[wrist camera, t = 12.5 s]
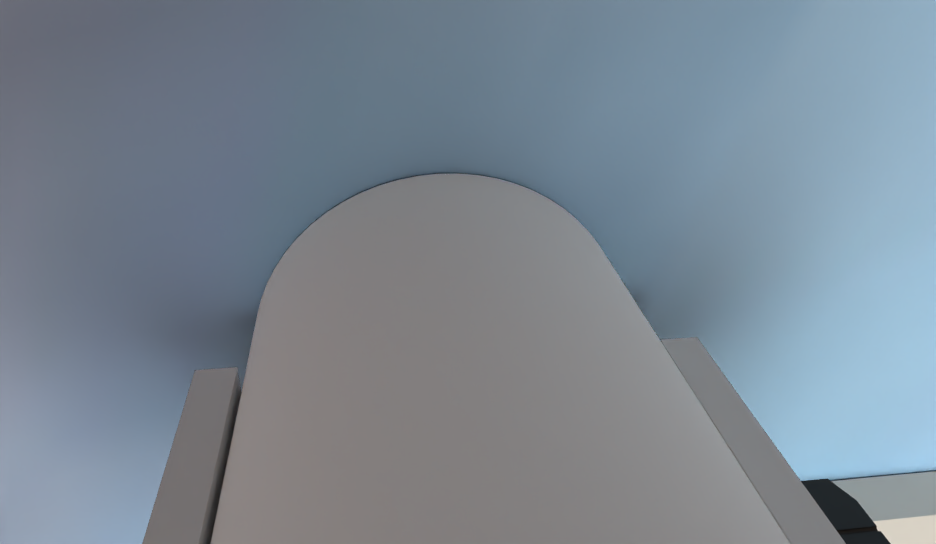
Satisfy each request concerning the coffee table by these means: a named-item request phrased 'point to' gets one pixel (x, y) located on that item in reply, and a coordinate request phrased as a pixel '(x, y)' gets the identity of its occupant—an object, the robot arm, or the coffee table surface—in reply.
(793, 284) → the coffee table surface
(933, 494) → the seat board
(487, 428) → the cup
